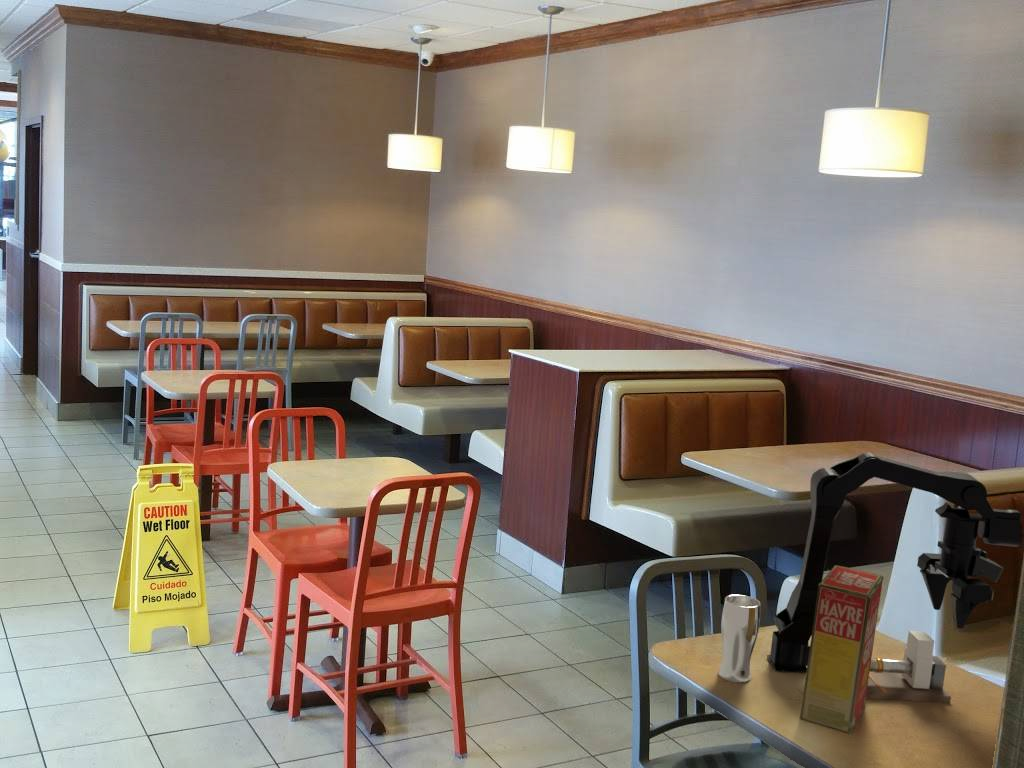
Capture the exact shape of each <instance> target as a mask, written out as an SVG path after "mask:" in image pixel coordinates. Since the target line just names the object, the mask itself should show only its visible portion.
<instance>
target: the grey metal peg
mask: <svg viewBox="0 0 1024 768" xmlns="http://www.w3.org/2000/svg"><path fill="white" fill-rule="evenodd" d="M932 660H933V665H932V672H931V679H930V686H929V687H930V688H931V689H932V690H943V689H944V682H945V675H946V667H947V664H946V663H944V661H943V660H942V659H941V658H940V657H938V656H937V655H932ZM913 665H914V663H913V662H912V661H904V660H902V659H900V660H899V659H886V658H885V659H883V658H880V657H874V658H871V664H870V671H869V672H875V673H882V672H884V673H902V674H912V672H913Z"/></svg>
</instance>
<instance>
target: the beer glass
mask: <svg viewBox="0 0 1024 768" xmlns="http://www.w3.org/2000/svg"><path fill="white" fill-rule="evenodd" d="M760 621H761V602H760V600H758V599H757V598H755V597H752V596H750V595H749V596H748V595H745V594H744V595H743V594H729V595H727V596H725V597H724V605H723V609H722V614H721V623H720V624H721V625H720V626H721V627H720V628H721V633H720V634H721V647H722V655H721V656H722V657H721V660H720V661H721V662H720V665H719V668H718V673H717V674H718V675H719V677H720V676H721V677H720V678H722V679H723V680H725V681H728V682H731V683H737V682H740V684H741V682H743V683H747V682H749V681H751V678H752V673H751V659H752V655H753V652H754V648H755V644H756V642H757V639H758V634H759V629H760Z"/></svg>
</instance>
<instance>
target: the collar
mask: <svg viewBox="0 0 1024 768" xmlns="http://www.w3.org/2000/svg"><path fill="white" fill-rule="evenodd" d="M934 645H935V640H934V639H933V638H932V637H931V636H930V635H929V634H928V633H926V632H925V631H924V630H923V631H921V630H920V631H919V630H908V635H907V642H906V647H904V652H903V660H904V661H912V662H913V663H914V665H913V672H912V674H902V673H901V675H902V676H903V677H904V678H905V679H906V680H907V682H908V683H909V684H910V685H911V686H912V687H913V688H924V689H929V686H930V679H931V672H932V665H933V660H932V656H933V653H934Z"/></svg>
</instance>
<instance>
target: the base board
mask: <svg viewBox="0 0 1024 768" xmlns="http://www.w3.org/2000/svg"><path fill="white" fill-rule="evenodd" d="M866 699H879V700H897V701H898V700H899V701H915V702H916V701H917V702H931V703H932V702H936V703H951V699H952V696H951V695H950V694H949V693H948V691H946V690H945V688H943V690H932V689H931V688H930V687H929V689H924V688H913V687H912V686H911V685H910V684H909V683H908V682H907V680H906V679H905V678H904V677H903V676H902V675H901V673H884V672H882V673H875V672H869V678H868V686H867V693H866Z"/></svg>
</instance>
